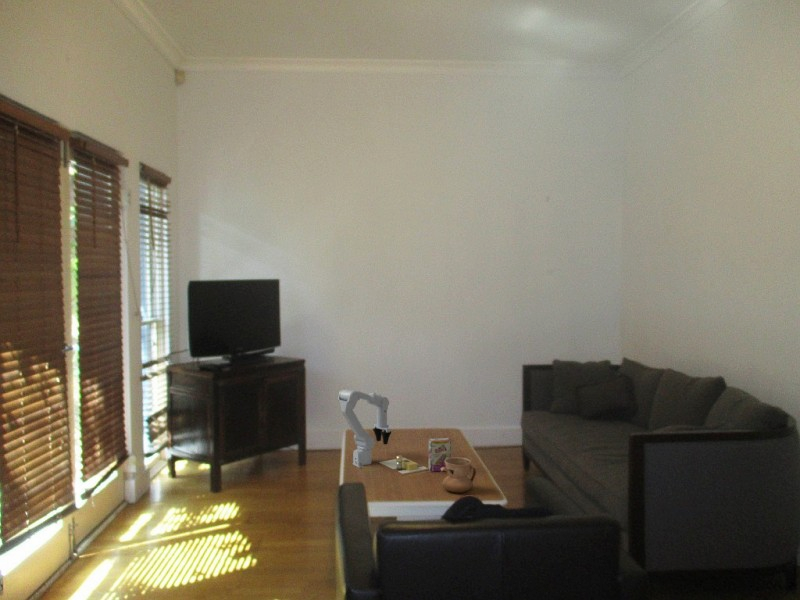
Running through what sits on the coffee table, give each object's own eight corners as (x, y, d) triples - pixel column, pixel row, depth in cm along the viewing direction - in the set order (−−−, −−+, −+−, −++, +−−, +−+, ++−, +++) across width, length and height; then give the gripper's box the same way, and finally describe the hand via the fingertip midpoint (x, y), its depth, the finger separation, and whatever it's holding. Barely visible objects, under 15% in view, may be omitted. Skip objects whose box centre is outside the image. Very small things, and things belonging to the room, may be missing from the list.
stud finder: (408, 470, 349) (408, 464, 349) (399, 466, 357) (399, 460, 357) (417, 469, 352) (417, 463, 352) (407, 464, 360) (407, 459, 359)
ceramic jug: (444, 496, 313) (445, 466, 312) (435, 486, 327) (436, 457, 326) (481, 494, 317) (482, 464, 316) (471, 483, 331) (471, 455, 331)
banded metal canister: (398, 470, 350) (398, 457, 349) (395, 469, 352) (395, 455, 352) (403, 469, 351) (403, 456, 351) (400, 468, 354) (400, 454, 353)
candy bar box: (430, 472, 349) (430, 441, 349) (428, 469, 354) (428, 438, 353) (451, 471, 352) (451, 439, 351) (448, 468, 357) (448, 437, 356)
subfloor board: (402, 475, 345) (402, 473, 344) (378, 464, 365) (378, 462, 365) (428, 470, 353) (428, 468, 353) (404, 459, 373) (404, 457, 373)
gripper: (394, 419, 368) (395, 444, 369) (381, 414, 380) (382, 438, 381) (383, 421, 364) (383, 446, 365) (370, 416, 377) (370, 440, 378)
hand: (382, 442), depth 373 cm, fingers open, 7 cm apart
